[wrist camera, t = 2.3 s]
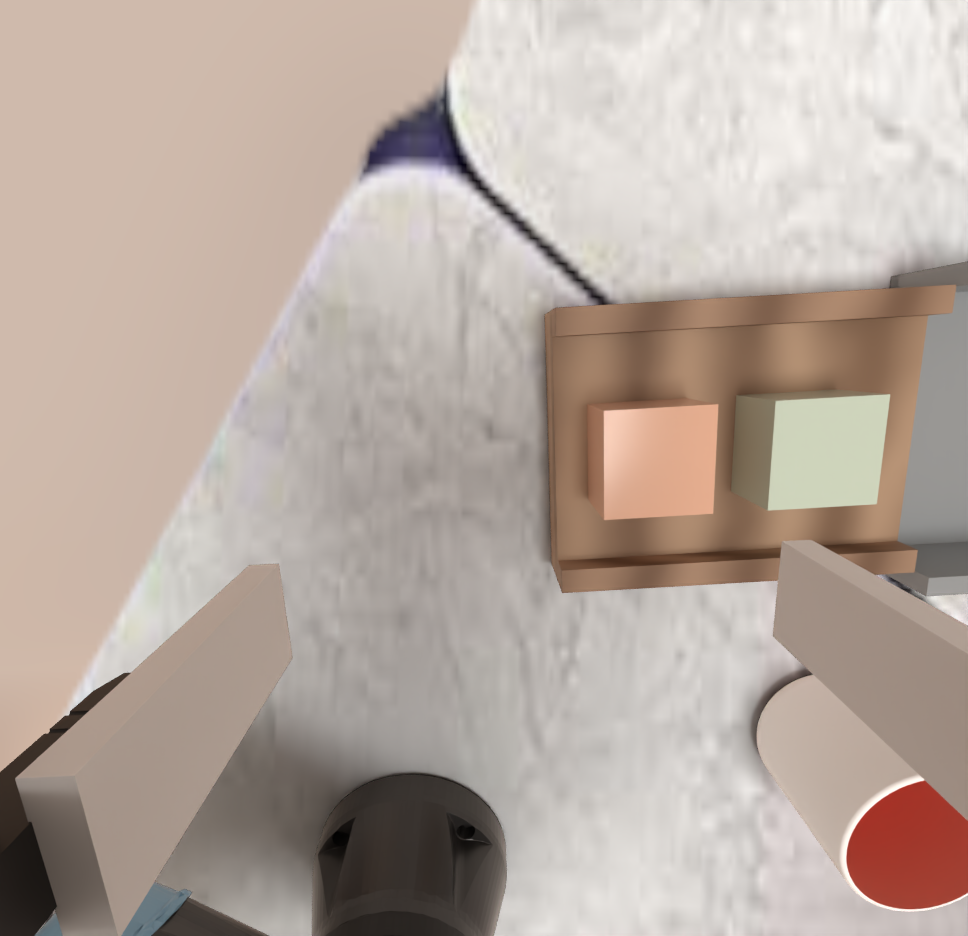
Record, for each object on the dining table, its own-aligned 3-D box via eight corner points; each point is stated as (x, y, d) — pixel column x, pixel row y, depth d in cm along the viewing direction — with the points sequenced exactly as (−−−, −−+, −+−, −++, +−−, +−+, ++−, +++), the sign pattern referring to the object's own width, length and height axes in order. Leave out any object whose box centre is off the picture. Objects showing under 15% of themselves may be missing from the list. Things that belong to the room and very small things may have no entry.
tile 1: (731, 491, 31) (767, 510, 27) (736, 395, 30) (775, 400, 26) (826, 485, 31) (876, 504, 27) (835, 389, 30) (890, 394, 26)
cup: (768, 656, 37) (872, 764, 27) (894, 673, 37) (1042, 784, 28) (734, 768, 39) (819, 904, 29) (854, 782, 40) (978, 921, 30)
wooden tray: (551, 563, 35) (562, 592, 31) (544, 314, 31) (555, 307, 27) (859, 545, 35) (914, 572, 31) (889, 294, 31) (956, 284, 27)
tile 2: (588, 499, 31) (604, 520, 27) (587, 403, 30) (603, 410, 26) (683, 494, 31) (713, 513, 27) (686, 398, 30) (718, 404, 26)
